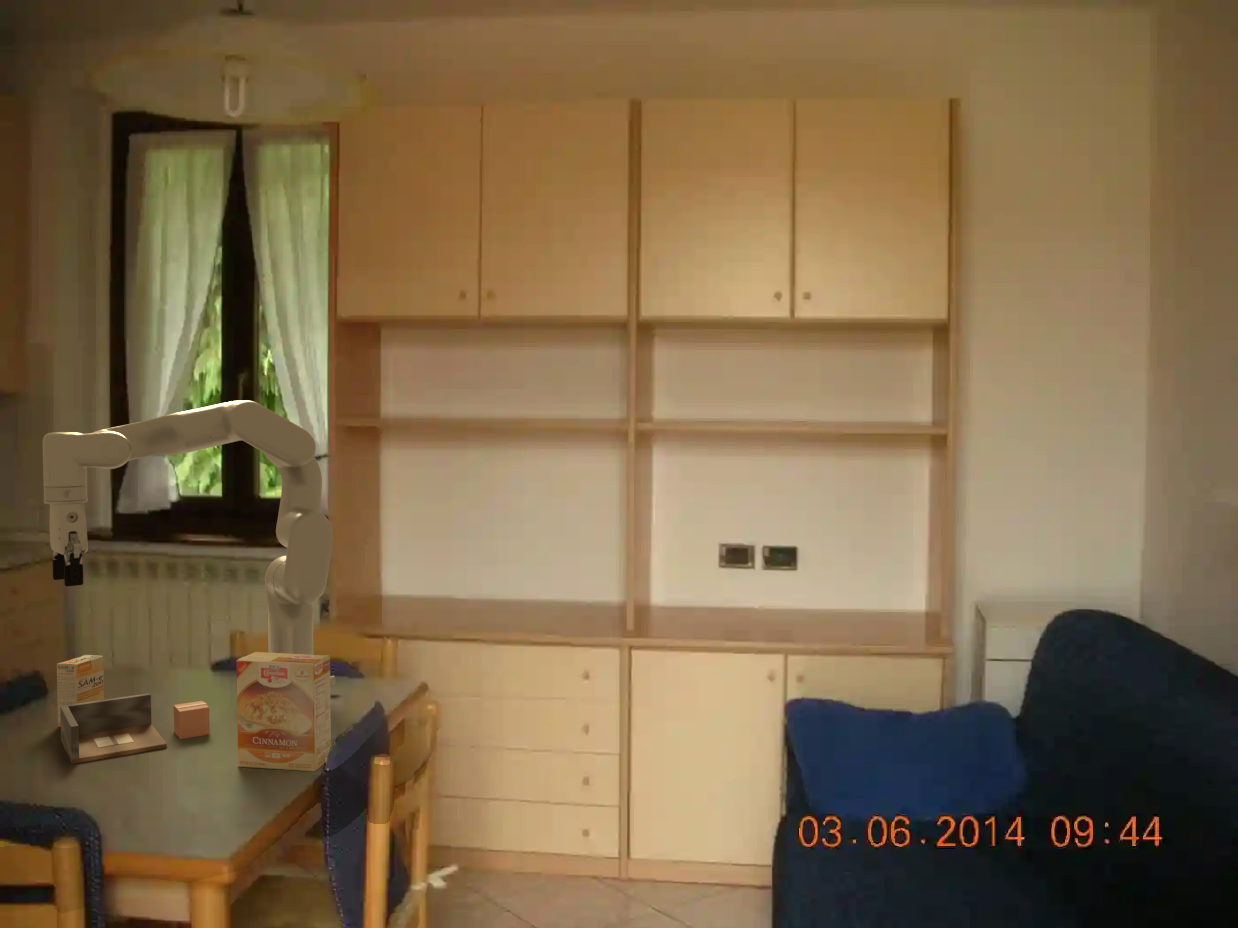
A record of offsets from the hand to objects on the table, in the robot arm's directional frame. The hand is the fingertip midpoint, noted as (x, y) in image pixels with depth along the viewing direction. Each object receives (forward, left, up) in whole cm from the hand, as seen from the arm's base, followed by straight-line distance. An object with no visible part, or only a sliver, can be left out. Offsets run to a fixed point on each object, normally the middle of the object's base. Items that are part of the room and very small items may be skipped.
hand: (67, 582), depth 204 cm
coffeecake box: (-30, +41, -30) cm, 59 cm away
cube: (-20, +13, -30) cm, 38 cm away
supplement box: (-3, -7, -30) cm, 31 cm away
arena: (-6, +12, -30) cm, 33 cm away
